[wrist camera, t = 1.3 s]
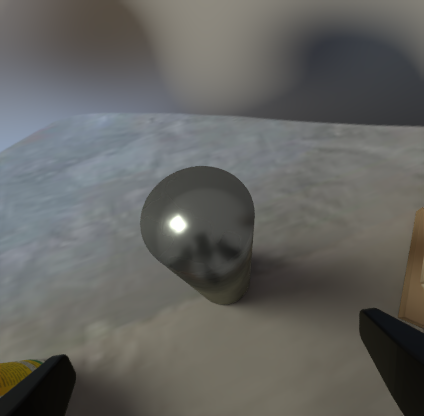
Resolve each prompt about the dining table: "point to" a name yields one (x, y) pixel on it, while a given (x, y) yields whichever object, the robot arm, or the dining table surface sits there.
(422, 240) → the ledge stand
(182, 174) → the metal tin
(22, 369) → the supplement bottle
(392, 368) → the robot arm
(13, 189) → the dining table surface
